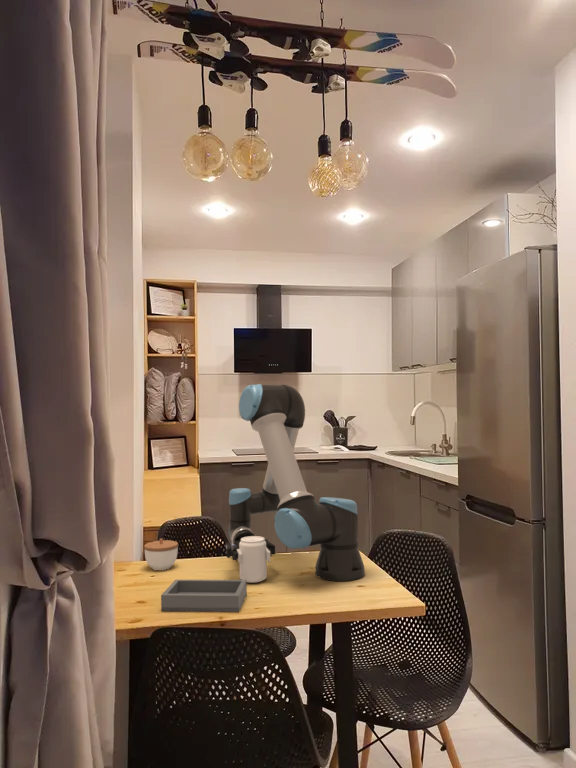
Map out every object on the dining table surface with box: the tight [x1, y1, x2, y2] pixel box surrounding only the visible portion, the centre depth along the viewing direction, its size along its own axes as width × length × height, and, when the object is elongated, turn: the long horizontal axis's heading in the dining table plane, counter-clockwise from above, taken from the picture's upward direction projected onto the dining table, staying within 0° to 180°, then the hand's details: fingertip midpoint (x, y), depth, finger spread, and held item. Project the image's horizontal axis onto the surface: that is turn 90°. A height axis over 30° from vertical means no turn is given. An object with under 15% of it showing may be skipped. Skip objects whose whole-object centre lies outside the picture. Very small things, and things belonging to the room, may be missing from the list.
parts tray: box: [160, 579, 248, 613], centre depth 145 cm, size 20×13×4 cm, turn 86°
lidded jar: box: [143, 538, 179, 571], centre depth 179 cm, size 11×11×9 cm
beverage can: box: [238, 535, 268, 583], centre depth 164 cm, size 8×8×12 cm
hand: (255, 557), depth 159 cm, fingers closed on beverage can, 8 cm apart
